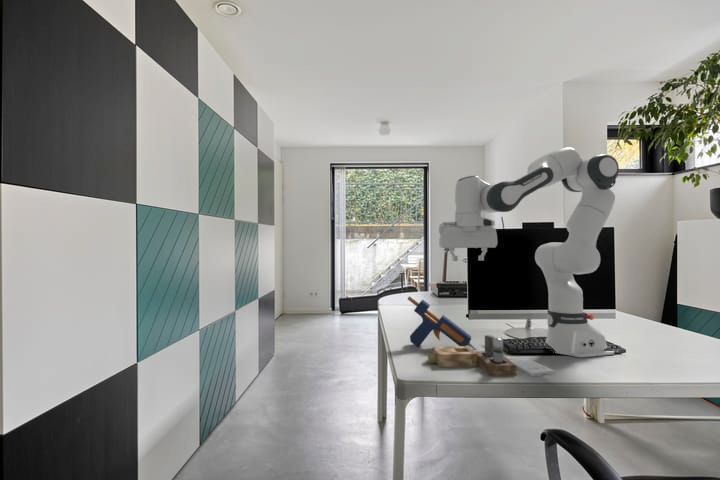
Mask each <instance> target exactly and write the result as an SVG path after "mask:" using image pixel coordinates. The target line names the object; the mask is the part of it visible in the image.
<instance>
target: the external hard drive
mask: <svg viewBox="0 0 720 480" xmlns="http://www.w3.org/2000/svg"><path fill="white" fill-rule="evenodd" d="M509 360H510V361H511V362H513V363H514V364H515V365H516V370H517V369H518V370H520V371H521V372H523V373H525V374H528V375H529V376H531V377H536V376H542V375H544V376H545V375H553V374H556V370H554V369H552V368H549V367H548V366H545V365H543V364H541V363H539V362H536V361H534V360H532V359H530V358H528V357H526V358H520V359H519V358H518V359H517V358H516V359H509Z"/></svg>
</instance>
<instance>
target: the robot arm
mask: <svg viewBox="0 0 720 480" xmlns="http://www.w3.org/2000/svg"><path fill="white" fill-rule="evenodd" d="M619 168H620V167H619V163H618V161H617V159H616V158H615V157H614V156H613V155H611V154H604V153H603V154H602V153H601V154H598V155H594V156H592V157H589V158H586V159H585V158H584V159H582V158H581V155H580V154H579V152H578V151H577V149H575V148H573V147H562V148H559V149H556V150H553V151H550V152H548V153H545V154H544V155H542V156H540V157H538V158H536V159H535V160H534V161H532V162H531V163H530V164H529V165H528V167H527V174H525V175H523V176H521V177H519V178H517V179H516V180H510V181H507V180H505V181H501V182H498V183H495V184H490V183H488V182H485V181H484V180H483V179H481V178H480V177H479V176H478V175H468V176H464V177H461V178H459V179H458V180H457V181H456V184H455V191H454V192H455V194H454V204H455V206H456V207H455V208H456V209H455V212H454V221H443V222H441V223H440V224H439V226H438V232H439V241H438V243H439V244H438V246H439V247H440V248H441V249H448V251H449V254H450V255H451V256H452V262H458V261H459V260H458V258H459V256H458V255H456V254H455V253H454V252H456V250H455V249H467V248H468V249H471V248H472V249H473V248H475V249H478V248H479V249H480V251H482V252H481V254H480V255H478V259H477V260H478V261H485V256H486V253H488V248H490V249H491V248H493V249H494V248H496V247H497V246H498V233H497V230H496V228H495V226H496V224H495V220H493V219H489V218H487V217H483V216H482V215H481V214H482V213H488V214H489V213H507V212H511V211H513V210H515V209H516V208H517V206H518V205H519V204H520V202H521V201H522V200H523V199H524V198H526V197H527V196H528V195H530V194H532V193H534V192H536V191H537V190H539V189H543V188H546V187H547V188H548V187H550V186H552V185H555V184H557V183H558V182H561V184H562V186H563V187H564V188H565V189H566V190H568V192H573V193H581V198H580V200H579V202H578V203H577V205H576V207H575V208H574V210H573V212H572V213H571V215H570V216H569V219H568V220H567V222H566V225H565V226H566V227H565V228H566V230H567V232H568V237H567V239H566V240H565V241H564V242H557V241H556V242H554V241H553V242H548V243H543V244H541V245H539V247H537V249H536V250H535V254H534V260H535V263H536V265H537V266H538V267H539V268H540V269H541V271H542V273H543V275H544V278H545V282H546V285H547V292H548V309H547V319H546V321H547V332H546V339H545V342H546V343H547V344H548V345H549V346H551V347H552V348H553V349H554V350H555V351H556V352H555V353H556V354H560V355H565V356H571V357H576V358H591V357H599V356H602V357H603V356H611V355H615V350H613V351H604V349H606V348H607V347H608V346H607V341H606V340H607V339H606V337H605V334H604V333H602V332H601V331H600V330H598V329H597V328H596V327H594V325H592V324H591V323H590V322H589V321H588V320H590V321H593V320H594V319H595V317H594V314H591V313H586V312H584V307H583V306H584V303H583V302H584V295H583V294H584V293H583V289H582V288H581V286H579V284H577V281H576V280H575V277H574V275H585V274H591V273H594V272H595V271H597V269H598V268H599V267H600V264H601V254H600V252H599V250H598V249H597V241H598V238H599V235H600V233H601V231H602V229H603V227H604V225H605V223H606V222H607V220H608V218H609V216H610V214H611V212H612V209H613V208H614V204H615V200H616V195H615V193H614V191H612V190H611V188H613V187H614V186H615V184H616V182H617V181H616V179H617V177H618V174H619V170H620V169H619Z"/></svg>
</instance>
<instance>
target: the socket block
mask: <svg viewBox="0 0 720 480" xmlns="http://www.w3.org/2000/svg"><path fill="white" fill-rule="evenodd" d="M432 354H436V355H437V363H436V364H437V366H438V365H439V366H438V367H439V368H454V367H459V368H460V367H477V366H478V364H477V354H476V353H475V352H474V350H473V348H472V347H470V346H468V345H467V346H459V345H454V346H452V345H451V346H450V345H449V346H448V345H447V346H432Z"/></svg>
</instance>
